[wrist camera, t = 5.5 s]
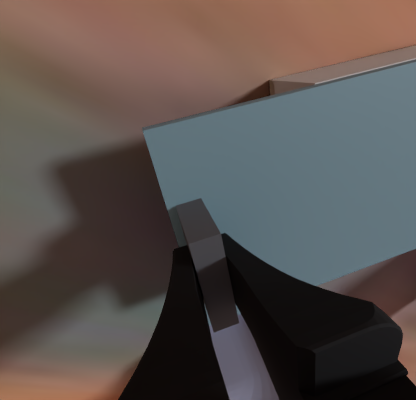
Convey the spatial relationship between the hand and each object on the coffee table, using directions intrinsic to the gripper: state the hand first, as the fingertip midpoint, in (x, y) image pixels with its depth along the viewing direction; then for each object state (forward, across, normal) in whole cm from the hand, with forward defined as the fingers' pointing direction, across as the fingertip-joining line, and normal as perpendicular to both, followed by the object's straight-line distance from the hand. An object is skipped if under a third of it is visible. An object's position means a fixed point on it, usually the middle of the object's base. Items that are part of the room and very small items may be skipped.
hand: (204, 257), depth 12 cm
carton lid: (+2, -8, 0) cm, 8 cm away
